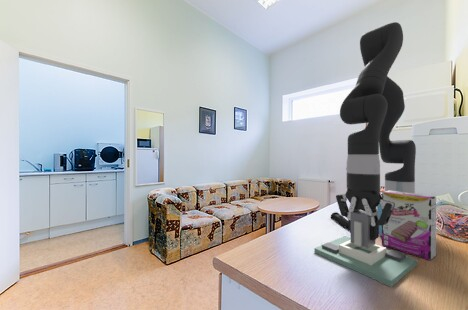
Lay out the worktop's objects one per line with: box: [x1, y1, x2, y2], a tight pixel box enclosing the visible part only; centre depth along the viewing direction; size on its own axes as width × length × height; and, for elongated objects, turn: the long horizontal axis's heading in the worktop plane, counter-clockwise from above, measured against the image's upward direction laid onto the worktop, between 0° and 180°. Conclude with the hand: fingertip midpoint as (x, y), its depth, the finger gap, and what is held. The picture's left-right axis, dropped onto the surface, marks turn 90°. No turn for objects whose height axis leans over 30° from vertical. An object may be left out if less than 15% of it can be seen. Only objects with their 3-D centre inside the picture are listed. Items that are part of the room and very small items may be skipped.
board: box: [314, 235, 418, 288], centre depth 54 cm, size 16×18×3 cm
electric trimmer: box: [330, 212, 349, 229], centre depth 82 cm, size 4×16×3 cm, turn 174°
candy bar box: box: [381, 190, 437, 261], centre depth 58 cm, size 11×5×16 cm, turn 34°
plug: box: [350, 210, 376, 248], centre depth 54 cm, size 5×4×8 cm
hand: (362, 236), depth 54 cm, fingers closed on plug, 4 cm apart
